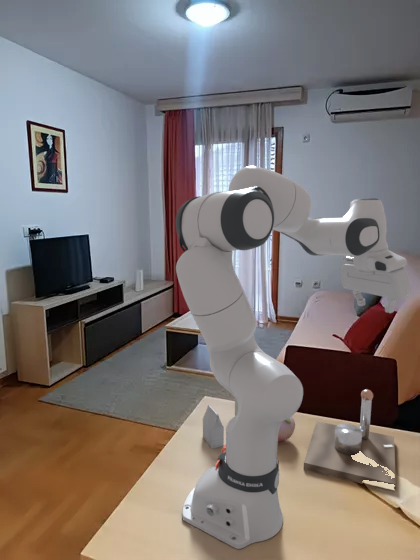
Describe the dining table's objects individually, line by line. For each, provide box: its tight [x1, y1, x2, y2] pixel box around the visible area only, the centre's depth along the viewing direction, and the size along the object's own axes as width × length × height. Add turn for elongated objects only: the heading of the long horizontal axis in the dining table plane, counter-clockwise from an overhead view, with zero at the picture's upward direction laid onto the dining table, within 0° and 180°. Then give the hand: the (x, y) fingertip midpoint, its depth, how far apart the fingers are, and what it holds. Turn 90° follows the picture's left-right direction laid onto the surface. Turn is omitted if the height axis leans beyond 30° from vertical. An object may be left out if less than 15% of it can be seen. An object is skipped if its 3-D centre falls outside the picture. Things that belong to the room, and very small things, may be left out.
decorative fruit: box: [278, 416, 296, 442], centre depth 120 cm, size 9×8×10 cm
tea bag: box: [202, 404, 225, 450], centre depth 119 cm, size 4×7×10 cm, turn 24°
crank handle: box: [334, 388, 374, 455], centre depth 113 cm, size 13×7×15 cm, turn 127°
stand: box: [303, 421, 397, 486], centre depth 113 cm, size 22×22×2 cm
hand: (375, 308), depth 111 cm, fingers open, 8 cm apart
